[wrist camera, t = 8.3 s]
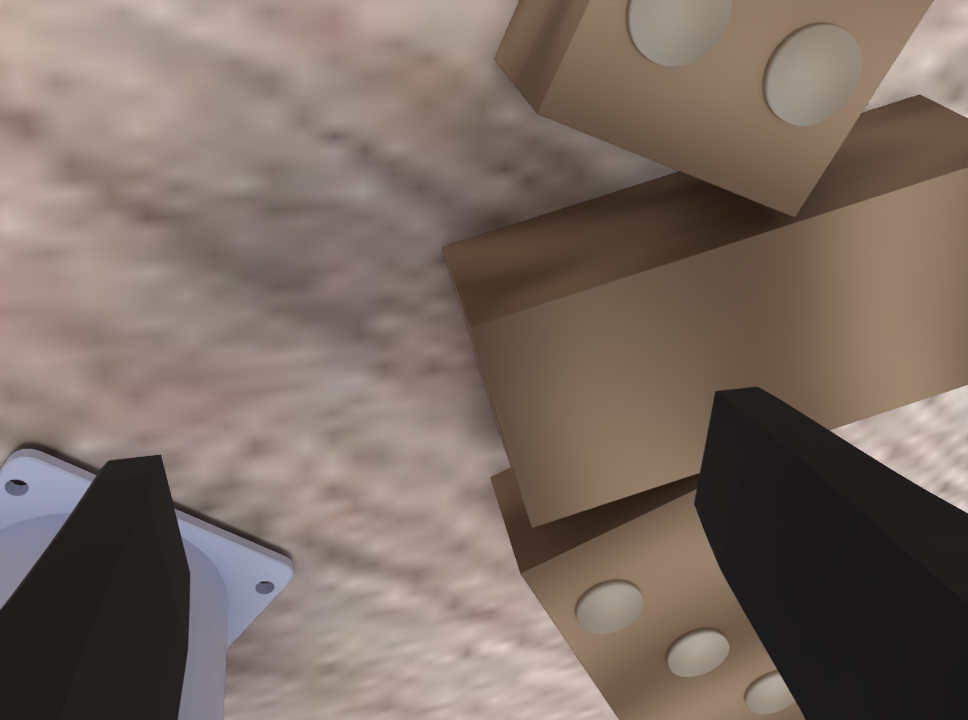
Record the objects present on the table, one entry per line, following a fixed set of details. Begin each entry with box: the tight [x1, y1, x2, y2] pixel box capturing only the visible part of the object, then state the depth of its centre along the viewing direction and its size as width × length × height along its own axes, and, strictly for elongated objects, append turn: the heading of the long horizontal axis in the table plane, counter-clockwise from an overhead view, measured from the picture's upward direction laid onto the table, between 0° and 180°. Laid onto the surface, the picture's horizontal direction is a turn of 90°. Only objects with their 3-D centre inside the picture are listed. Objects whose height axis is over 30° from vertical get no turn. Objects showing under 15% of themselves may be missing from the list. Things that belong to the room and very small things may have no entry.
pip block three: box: [491, 468, 805, 720], centre depth 27 cm, size 12×6×4 cm, turn 25°
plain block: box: [442, 95, 968, 528], centre depth 21 cm, size 12×6×4 cm, turn 104°
